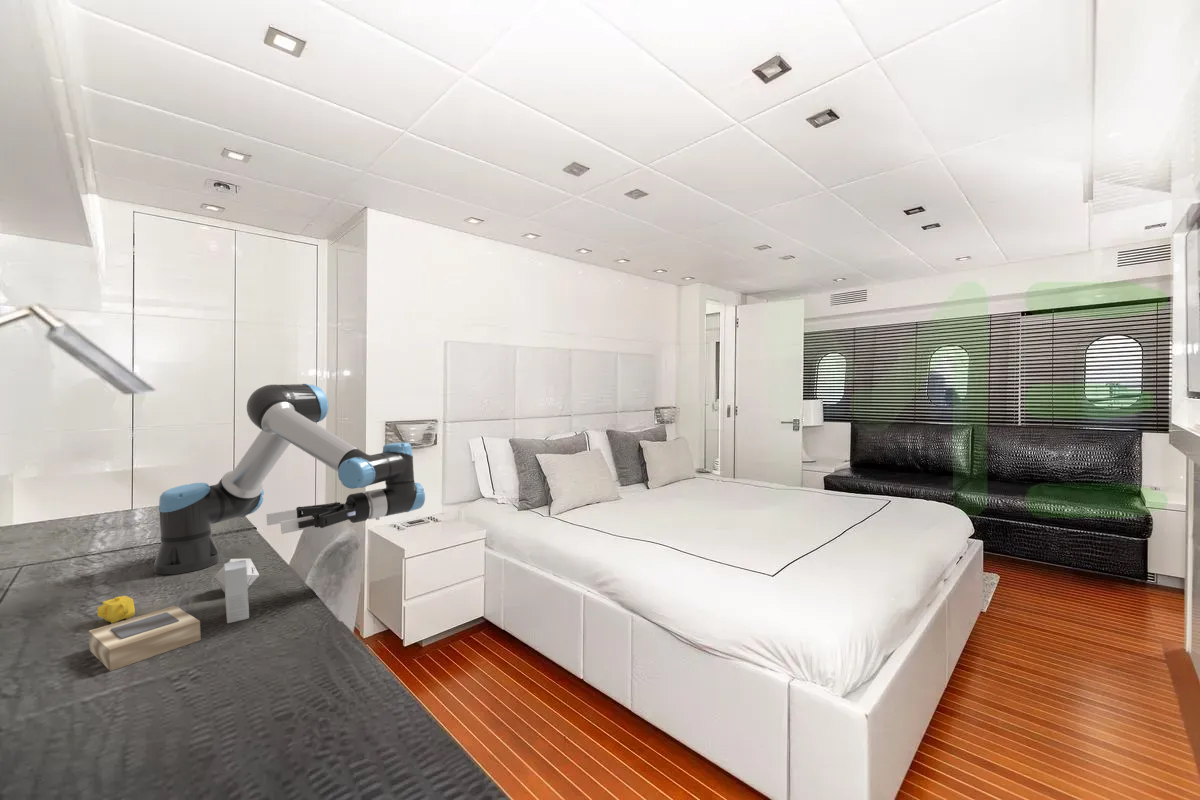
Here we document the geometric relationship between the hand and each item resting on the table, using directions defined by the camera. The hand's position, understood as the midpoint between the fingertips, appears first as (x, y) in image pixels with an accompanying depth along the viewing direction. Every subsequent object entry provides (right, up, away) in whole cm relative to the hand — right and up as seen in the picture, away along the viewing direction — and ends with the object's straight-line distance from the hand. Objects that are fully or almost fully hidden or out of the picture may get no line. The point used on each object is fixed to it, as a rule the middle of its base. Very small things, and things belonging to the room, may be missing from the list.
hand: (273, 523), depth 125 cm
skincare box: (-5, -20, -5) cm, 21 cm away
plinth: (-15, -20, -18) cm, 31 cm away
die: (-16, -20, +10) cm, 27 cm away
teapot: (-32, -21, -6) cm, 39 cm away
